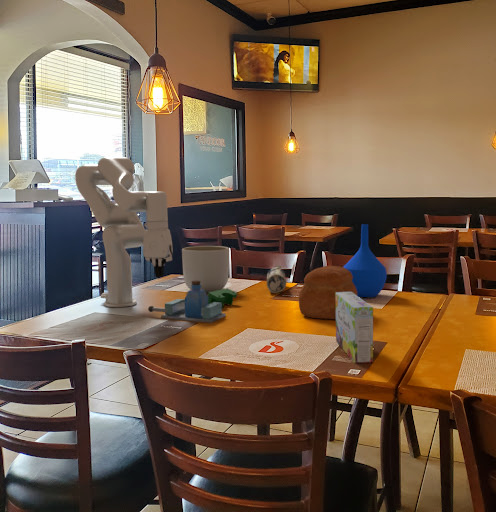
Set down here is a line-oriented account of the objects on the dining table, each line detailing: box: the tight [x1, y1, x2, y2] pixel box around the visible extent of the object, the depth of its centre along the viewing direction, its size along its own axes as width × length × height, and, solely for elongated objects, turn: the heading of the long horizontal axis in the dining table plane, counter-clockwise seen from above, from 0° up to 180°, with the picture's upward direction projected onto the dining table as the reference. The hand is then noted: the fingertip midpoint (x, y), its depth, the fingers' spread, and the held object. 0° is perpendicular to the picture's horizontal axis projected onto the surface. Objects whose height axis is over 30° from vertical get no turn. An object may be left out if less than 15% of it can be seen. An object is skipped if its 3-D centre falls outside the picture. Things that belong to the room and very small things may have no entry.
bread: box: [298, 265, 357, 320], centre depth 202 cm, size 18×22×17 cm
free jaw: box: [147, 298, 185, 315], centre depth 203 cm, size 10×10×4 cm
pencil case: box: [266, 265, 287, 294], centre depth 250 cm, size 22×8×10 cm, turn 178°
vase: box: [343, 223, 388, 298], centre depth 233 cm, size 18×18×30 cm
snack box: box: [335, 292, 374, 364], centre depth 155 cm, size 21×6×15 cm, turn 5°
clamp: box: [207, 288, 238, 309], centre depth 218 cm, size 12×6×9 cm, turn 134°
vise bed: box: [160, 302, 226, 324], centre depth 199 cm, size 20×11×5 cm, turn 67°
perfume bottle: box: [184, 280, 208, 317], centre depth 198 cm, size 6×6×12 cm
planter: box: [181, 245, 230, 294], centre depth 250 cm, size 21×21×19 cm
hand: (159, 276), depth 203 cm, fingers closed
